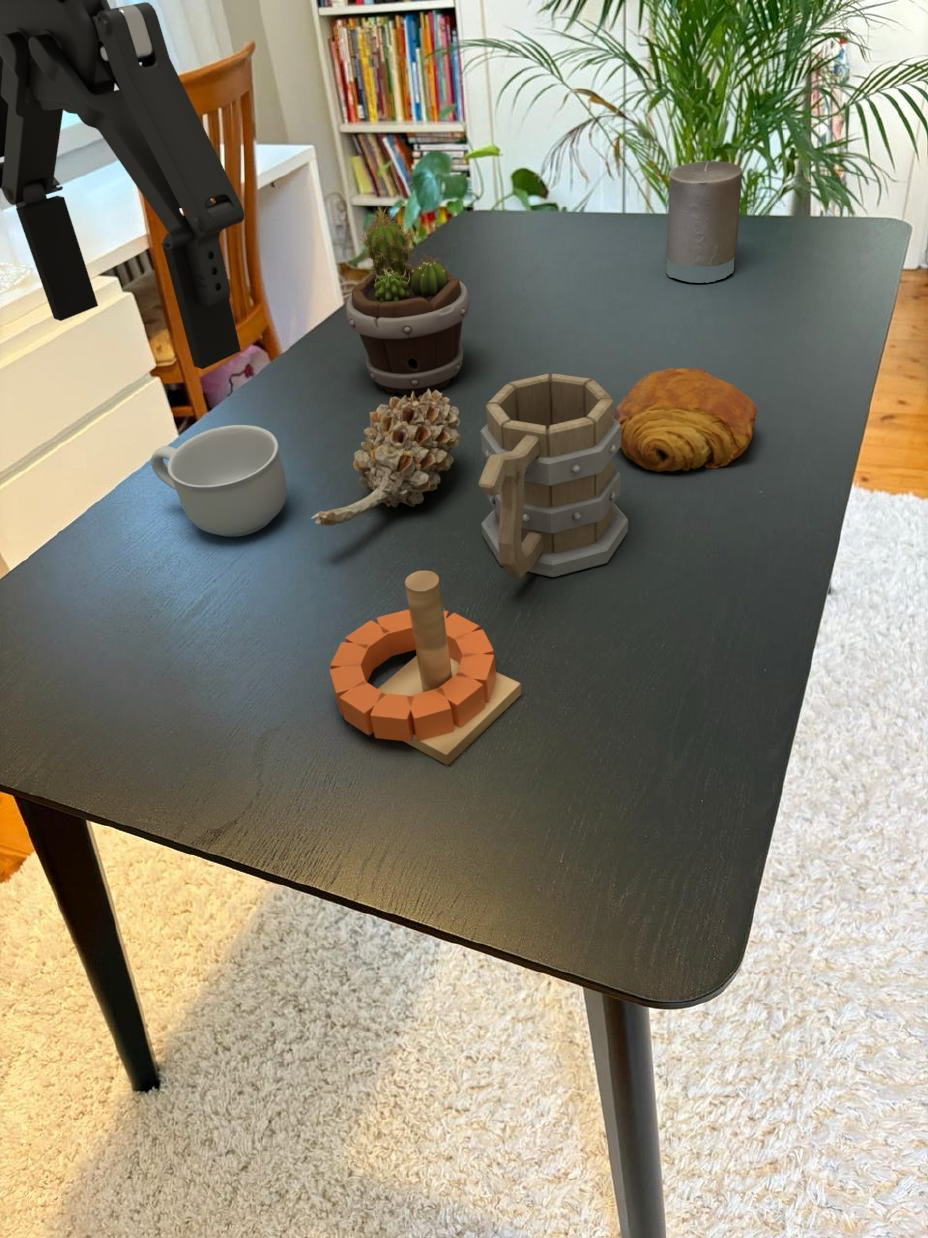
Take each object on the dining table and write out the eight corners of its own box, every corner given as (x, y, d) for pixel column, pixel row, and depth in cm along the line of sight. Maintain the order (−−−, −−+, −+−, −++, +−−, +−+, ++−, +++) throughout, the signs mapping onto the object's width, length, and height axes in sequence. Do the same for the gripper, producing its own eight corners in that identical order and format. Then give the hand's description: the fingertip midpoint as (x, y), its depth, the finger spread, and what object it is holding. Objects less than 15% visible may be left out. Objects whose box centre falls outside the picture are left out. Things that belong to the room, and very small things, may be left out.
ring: (304, 692, 76) (298, 670, 75) (416, 612, 83) (412, 590, 81) (414, 766, 69) (409, 743, 68) (527, 673, 76) (525, 649, 74)
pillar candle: (731, 258, 142) (740, 148, 133) (737, 283, 135) (746, 168, 126) (663, 261, 144) (667, 152, 135) (665, 286, 137) (670, 173, 127)
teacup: (315, 504, 100) (299, 435, 95) (246, 561, 93) (226, 490, 88) (214, 478, 106) (194, 411, 101) (143, 530, 99) (118, 461, 94)
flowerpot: (498, 382, 118) (485, 211, 105) (382, 417, 114) (354, 243, 101) (448, 342, 129) (431, 182, 116) (340, 373, 124) (310, 210, 112)
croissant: (597, 483, 102) (591, 420, 96) (641, 398, 111) (638, 335, 106) (736, 502, 96) (738, 436, 91) (771, 410, 105) (774, 345, 100)
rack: (359, 717, 75) (331, 592, 68) (434, 652, 80) (415, 530, 73) (448, 766, 70) (428, 638, 63) (521, 694, 76) (512, 567, 68)
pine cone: (403, 450, 107) (391, 365, 101) (483, 462, 104) (475, 375, 97) (296, 563, 92) (273, 472, 86) (384, 581, 89) (367, 488, 82)
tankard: (522, 489, 99) (512, 349, 89) (641, 512, 93) (645, 366, 84) (426, 605, 85) (403, 455, 76) (559, 639, 80) (552, 483, 71)
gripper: (258, -147, 39) (339, 355, 52) (-52, -118, 52) (76, 277, 65) (101, -132, 35) (232, 410, 48) (-194, -105, 48) (-27, 315, 61)
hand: (142, 334), depth 57 cm, fingers open, 13 cm apart
